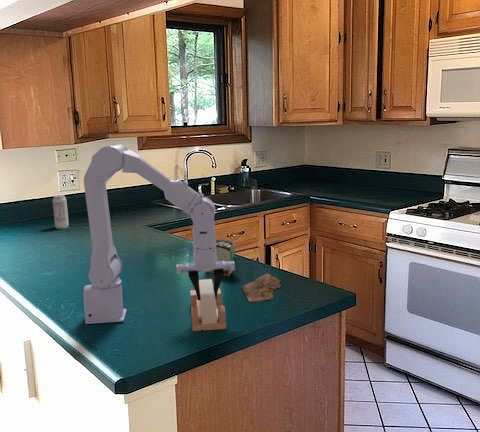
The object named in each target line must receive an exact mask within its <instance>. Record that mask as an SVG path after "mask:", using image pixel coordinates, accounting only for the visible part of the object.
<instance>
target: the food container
mask: <svg viewBox="0 0 480 432" xmlns="http://www.w3.org/2000/svg"><path fill="white" fill-rule="evenodd" d="M235 251H236V246H235V243H234V241H232V240H229V239H222V238H221V239H219V238H218V239H217V238H216V255H217V261H234V252H235ZM205 272H206V273H210V274H211V273H212V274H213V271H205ZM223 272H224V276H228V277H230V276H232V274H233V271H231V270H223Z"/></svg>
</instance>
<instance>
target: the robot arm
mask: <svg viewBox="0 0 480 432" xmlns="http://www.w3.org/2000/svg"><path fill="white" fill-rule="evenodd" d="M119 171H121V172H122V173H127V174H137V175H139V176H140V177H141V178H143V179H144V180H146V181H147V182H149V183H151V184H152V185H154V186H156V187H157V188H158V189H160V190H162V191H163V193H164V198H165V199H166V201H169V202H170V203H171V204H173V206H175V207H177V208H178V209H180V210H181V211H182V212H184V213H185V214H188V215H189V217H190V219H191V221H192V245H193V262H186V263H179V264H175V265H176V266H175V267H176V274H177V275H179V274H183V273H184V274H185V273H187V274H188V278H189V280H190V282H191V284H192V286H193V289H194V290H195V291H196V297H197V299H198V300H200V290H199V280H200V279H199V278H200V276H199V273H203V272H206V271H213V273H212V275H213V276H212V277H213V278H212V282H213V288H214V293H215V298H216V299H217V293H218V289H220V285H221V282H222V280H223V279H224V276H225V275H224V272H223V270H231V271H232V272H233V271H235V270H236V269H235V267H236V265H235V261H234V260H233V261H217V255H216V239H217V236H216V235H217V233H216V232H217V231H216V230H217V229H216V222H215V215H216V206H215V203H214V202H213V201H212V200H211V199H210V197H207V196H205V195H204V194H203V193H202V192H201V193H198V192H197V191H196V190H194V189H193V188H192V187H190V186H189V182H188V181H186V180H185V179H184V180H183V181H182V180H180V179H175V180H174V179H173V180H172V179H170V178H169V177H168V176H166V175H165V174H164V173H162V171H160V170H159V169H158V168H156V167H155V166H154V165H152V164H151V163H150V162H149V161H147V160H146V159H145V158H143V157H142V156H141V155H139V154H138V153H137V152H135V151H134V150H132V149H128V148H127V147H126V146H125V145H123V144H120V143H114V144H110V145H107V146H103V147H101V148H100V149H99V150H97V152H95V153H94V154H93V155H92V156H91V160H90V163H89V165H88V167H87V169H86V171H85V173H84V176H83V187H84V194H85V202H86V208H87V209H86V211H87V215H88V224H89V231H90V238H91V248H92V250H91V251H92V252H91V256H90V259H89V260H90V268H89V271H88V279H89V282H90V283H91V284H87V285H84V288H83V293H82V294H83V295H82V296H83V307H84V319H85V321H84V323H85V325H88V324H92V325H93V324H104V323H105V324H107V323H120V322H124V321H125V318H126V313H127V308H124V302H123V301H124V300H123V286H122V279H121V278H120V276H119V274H120V273H121V272H122V269H123V263H122V261H121V259H120V257H119V256H118V251H117V248H116V247H115V245H114V239H113V231H112V223H111V216H110V208H109V200H108V192H107V190H108V189H107V183H108V182H109V181H110V180H111V178H112V177H113V176H114V175H115V174H116V173H117V172H119Z"/></svg>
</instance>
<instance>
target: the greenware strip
mask: <svg viewBox="0 0 480 432" xmlns="http://www.w3.org/2000/svg"><path fill="white" fill-rule="evenodd" d="M213 287H214V282H213V278H207V279H199V290H200V309H201V318H202V324H214V323H217V318H216V298H215V293H214V288H213Z"/></svg>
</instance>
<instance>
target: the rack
mask: <svg viewBox="0 0 480 432" xmlns="http://www.w3.org/2000/svg"><path fill="white" fill-rule="evenodd" d="M189 292H190V309H191V312H190V313H191V323H192V325H191V326H192V332H200V331H201V330H203V331H212V330H213V331H214V330H215V331H216V330H225V329H227V320H226V308H225V305H222V292H221V288H218V293H217V299H216V318H217V323H214V324H202V318H201V309H200V300H198V298H197V294H196V291H195V289H193V290H191V289H190V291H189Z"/></svg>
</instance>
